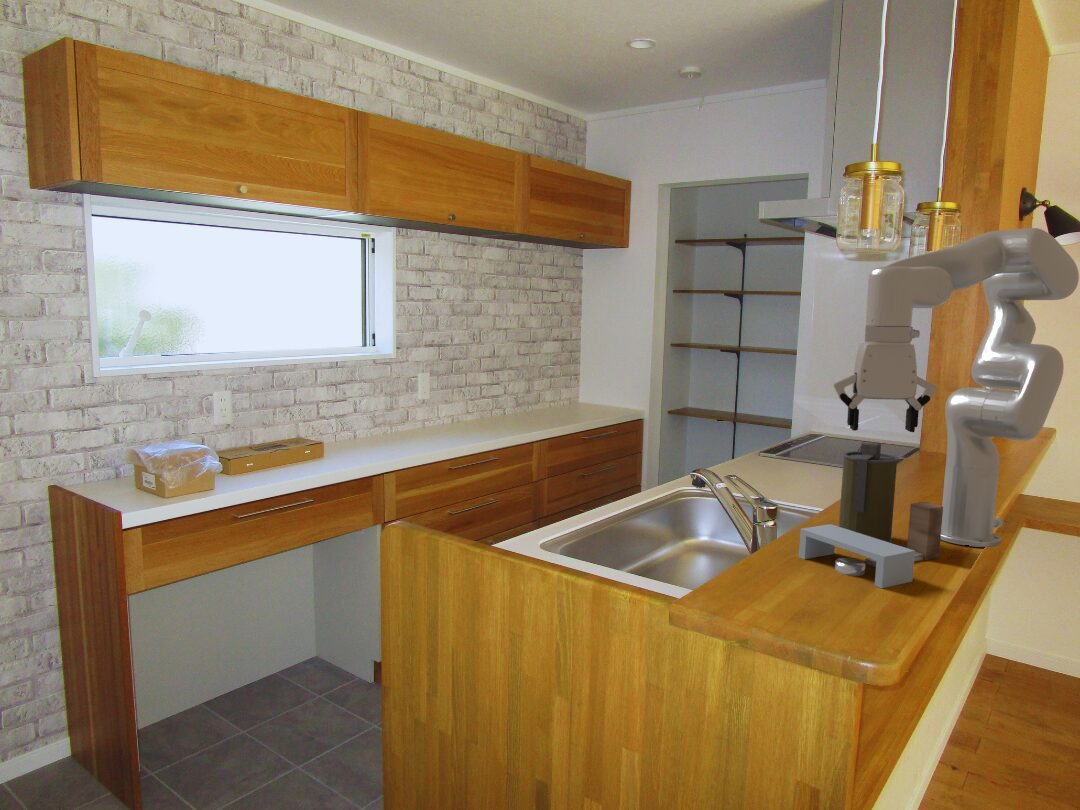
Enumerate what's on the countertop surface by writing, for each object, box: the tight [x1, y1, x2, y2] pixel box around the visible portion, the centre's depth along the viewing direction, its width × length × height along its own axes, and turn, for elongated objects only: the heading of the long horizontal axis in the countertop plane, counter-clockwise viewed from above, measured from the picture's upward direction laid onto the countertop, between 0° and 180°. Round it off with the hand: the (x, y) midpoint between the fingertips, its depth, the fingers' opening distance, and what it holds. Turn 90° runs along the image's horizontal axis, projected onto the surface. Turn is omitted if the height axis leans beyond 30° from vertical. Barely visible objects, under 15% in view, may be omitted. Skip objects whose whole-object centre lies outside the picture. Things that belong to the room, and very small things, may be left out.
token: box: [834, 557, 866, 577], centre depth 135 cm, size 5×5×2 cm
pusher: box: [864, 501, 943, 568], centre depth 141 cm, size 16×4×10 cm, turn 118°
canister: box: [838, 441, 899, 543], centre depth 154 cm, size 11×10×20 cm
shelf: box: [798, 523, 915, 589], centre depth 136 cm, size 8×18×6 cm, turn 28°
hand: (881, 430), depth 137 cm, fingers open, 9 cm apart
